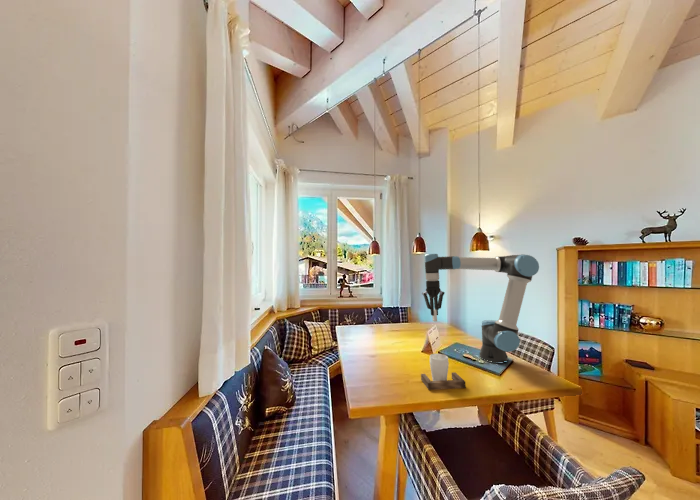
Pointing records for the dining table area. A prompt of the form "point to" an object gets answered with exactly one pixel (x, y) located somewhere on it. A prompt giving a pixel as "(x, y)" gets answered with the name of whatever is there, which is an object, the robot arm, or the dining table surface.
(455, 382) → the walnut pocket
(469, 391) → the dining table surface
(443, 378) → the cup
